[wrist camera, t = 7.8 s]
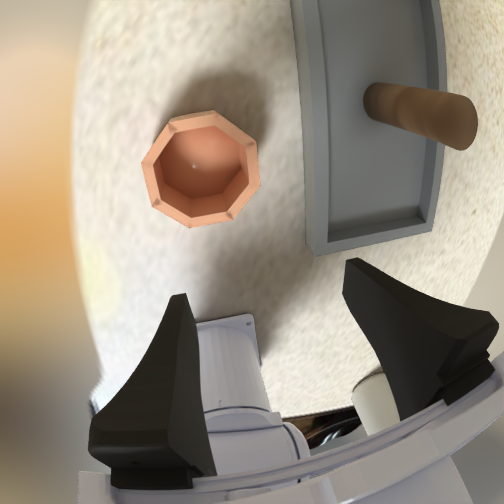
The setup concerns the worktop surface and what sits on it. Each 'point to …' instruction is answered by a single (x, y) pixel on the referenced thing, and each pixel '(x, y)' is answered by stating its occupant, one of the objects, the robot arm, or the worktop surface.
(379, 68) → the tray
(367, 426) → the can
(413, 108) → the pin
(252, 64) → the worktop surface
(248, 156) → the cup
